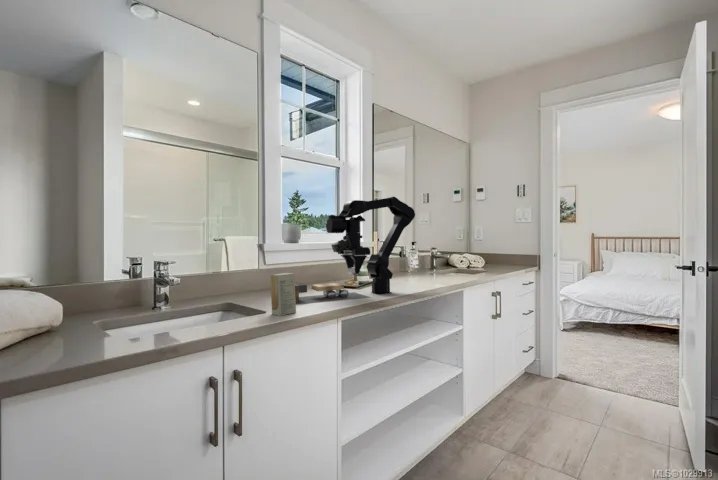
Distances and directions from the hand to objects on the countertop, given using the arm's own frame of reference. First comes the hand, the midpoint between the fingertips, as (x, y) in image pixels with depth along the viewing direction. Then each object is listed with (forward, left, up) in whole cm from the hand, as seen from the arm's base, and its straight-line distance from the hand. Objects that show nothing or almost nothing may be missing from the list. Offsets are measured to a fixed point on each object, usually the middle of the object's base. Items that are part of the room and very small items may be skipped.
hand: (353, 273), depth 146 cm
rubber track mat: (+11, 0, -9) cm, 15 cm away
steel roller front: (+11, 0, -6) cm, 13 cm away
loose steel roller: (0, 0, -1) cm, 1 cm away
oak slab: (+11, 0, -5) cm, 12 cm away
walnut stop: (+23, 0, -9) cm, 25 cm away
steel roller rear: (+6, 0, -6) cm, 9 cm away
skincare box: (+32, +20, -9) cm, 39 cm away
